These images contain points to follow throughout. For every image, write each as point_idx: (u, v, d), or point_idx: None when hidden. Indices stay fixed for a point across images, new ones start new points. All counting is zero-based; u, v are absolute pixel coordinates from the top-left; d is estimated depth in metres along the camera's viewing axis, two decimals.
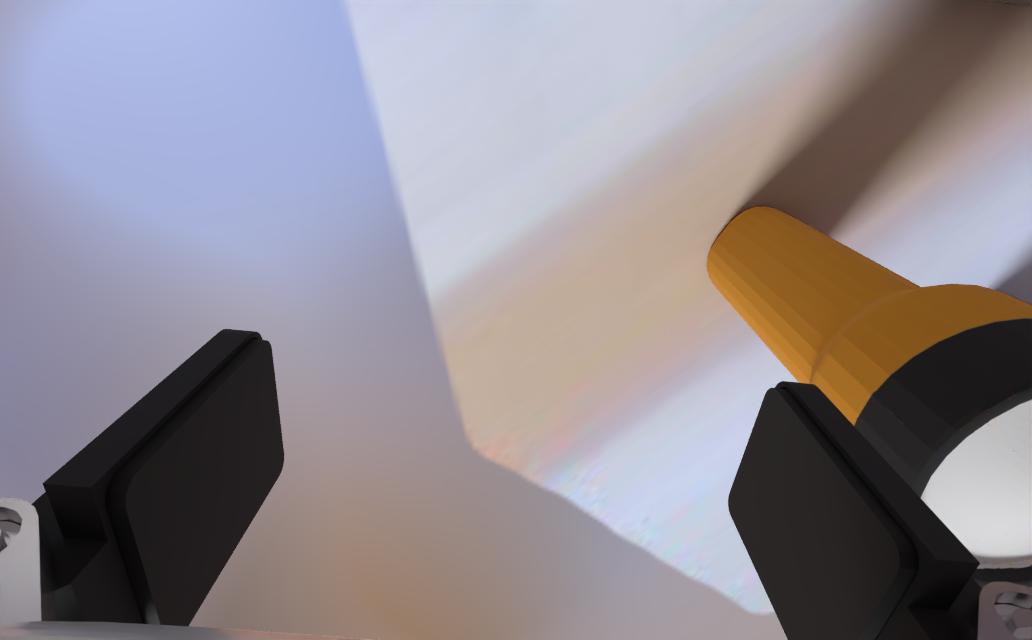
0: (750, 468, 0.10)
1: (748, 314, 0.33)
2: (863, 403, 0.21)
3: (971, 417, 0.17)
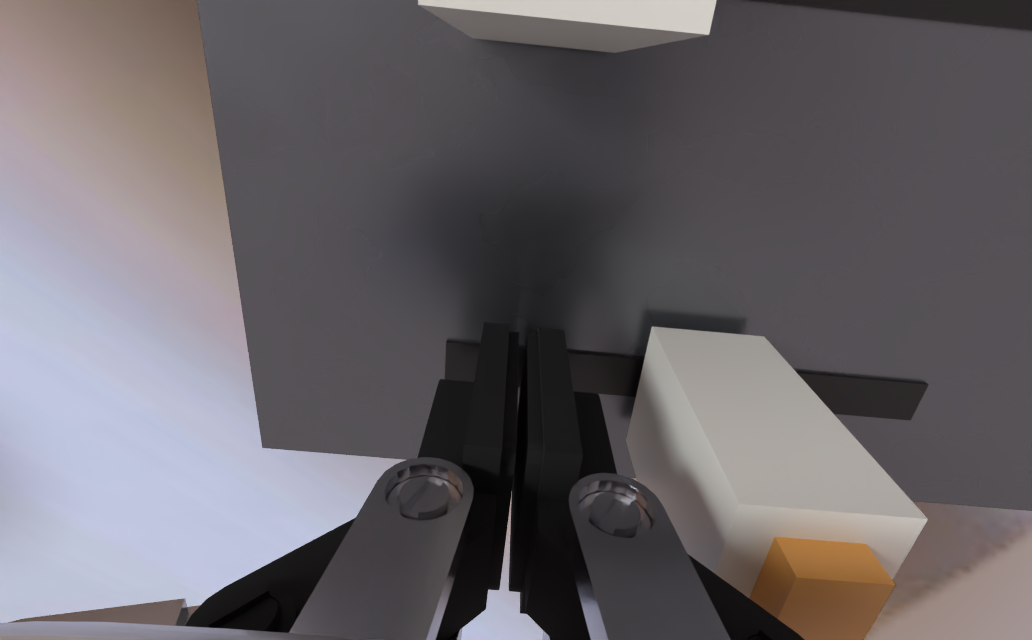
0: (518, 408, 0.11)
1: None
2: None
3: None
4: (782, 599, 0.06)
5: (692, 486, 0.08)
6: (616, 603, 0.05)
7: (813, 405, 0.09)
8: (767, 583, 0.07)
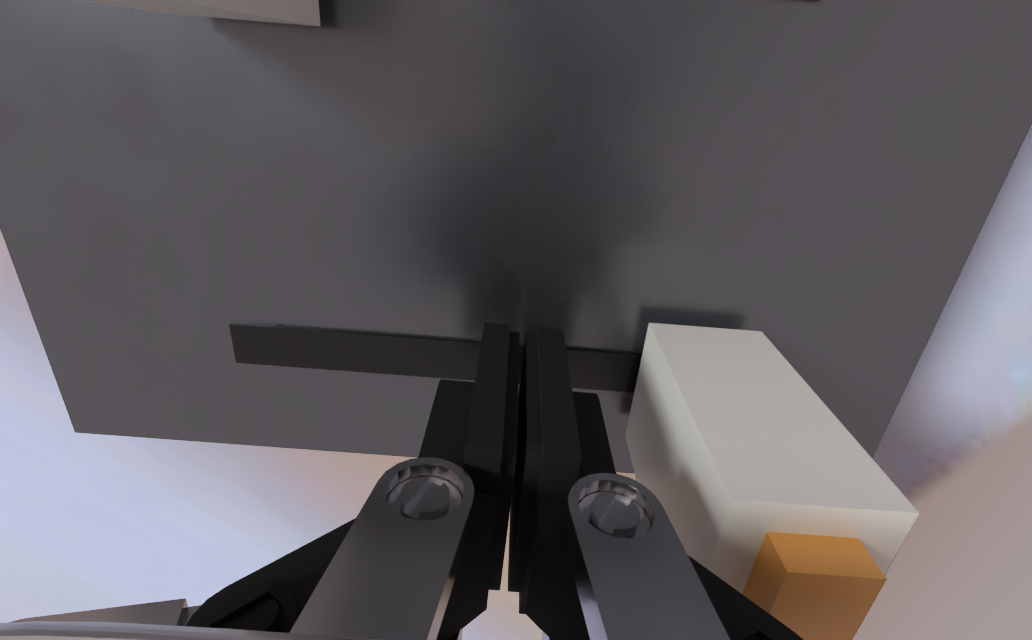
0: (517, 408, 0.11)
1: None
2: None
3: None
4: (774, 594, 0.07)
5: (686, 481, 0.08)
6: (615, 603, 0.05)
7: (808, 401, 0.09)
8: (759, 577, 0.07)
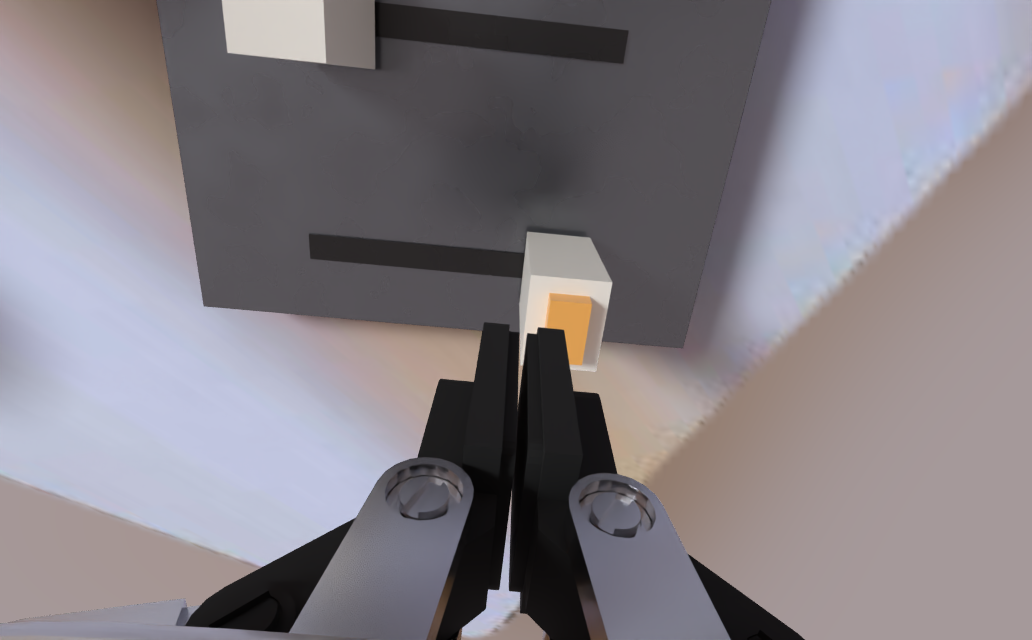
0: (518, 408, 0.11)
1: None
2: None
3: None
4: (548, 314, 0.15)
5: (526, 289, 0.17)
6: (616, 603, 0.05)
7: (592, 257, 0.18)
8: (546, 314, 0.16)
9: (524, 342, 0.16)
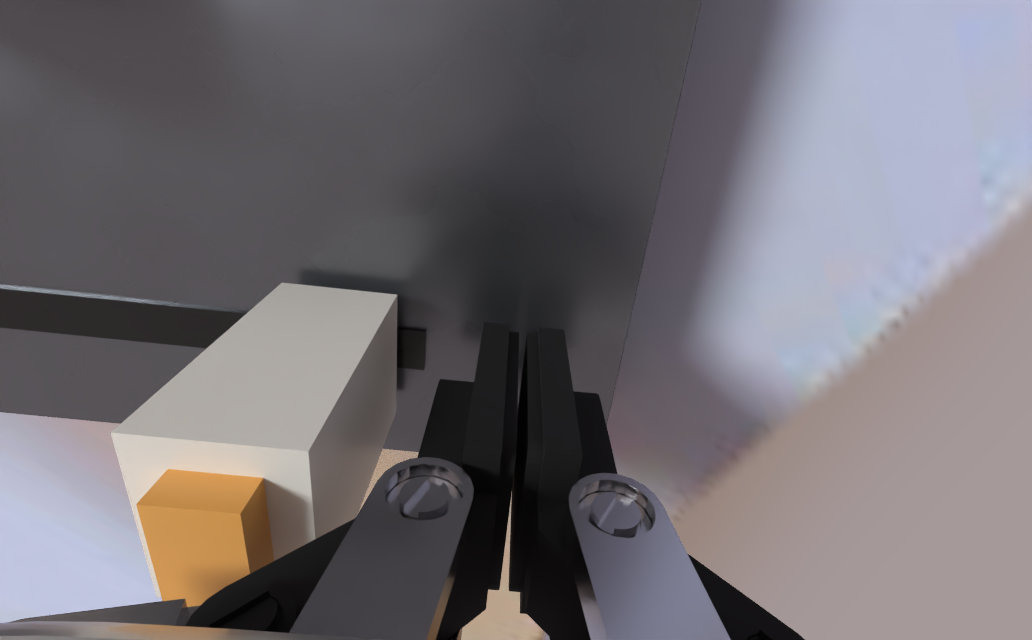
0: (518, 408, 0.11)
1: None
2: None
3: None
4: (146, 529, 0.06)
5: None
6: (616, 603, 0.05)
7: (347, 353, 0.09)
8: None
9: (148, 558, 0.07)
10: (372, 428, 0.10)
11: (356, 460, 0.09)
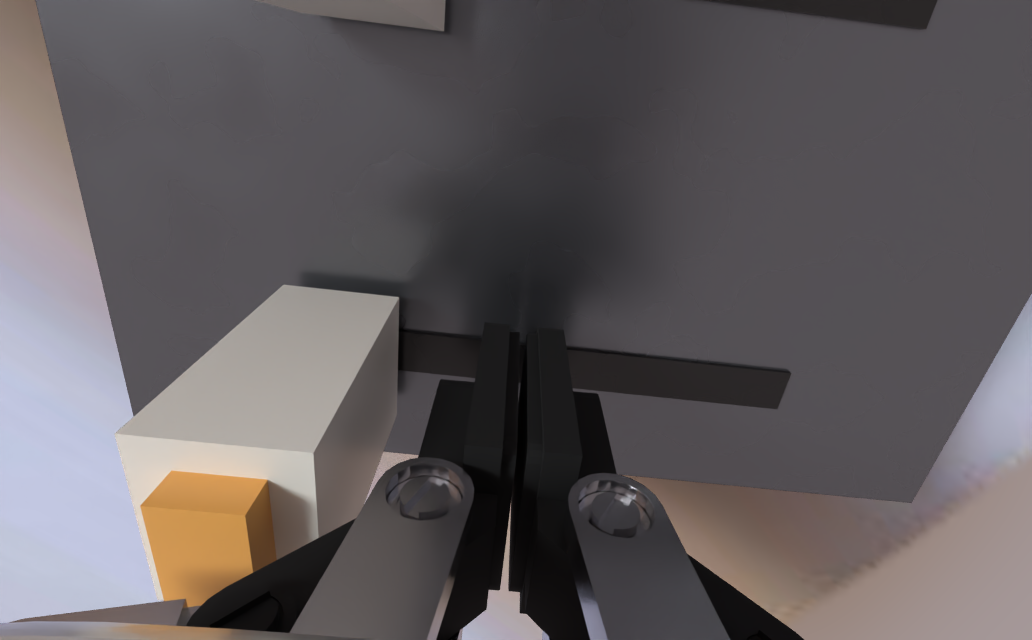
0: (518, 409, 0.11)
1: None
2: None
3: None
4: (150, 530, 0.06)
5: None
6: (615, 603, 0.05)
7: (351, 355, 0.09)
8: None
9: (150, 561, 0.07)
10: (374, 431, 0.10)
11: (358, 462, 0.09)
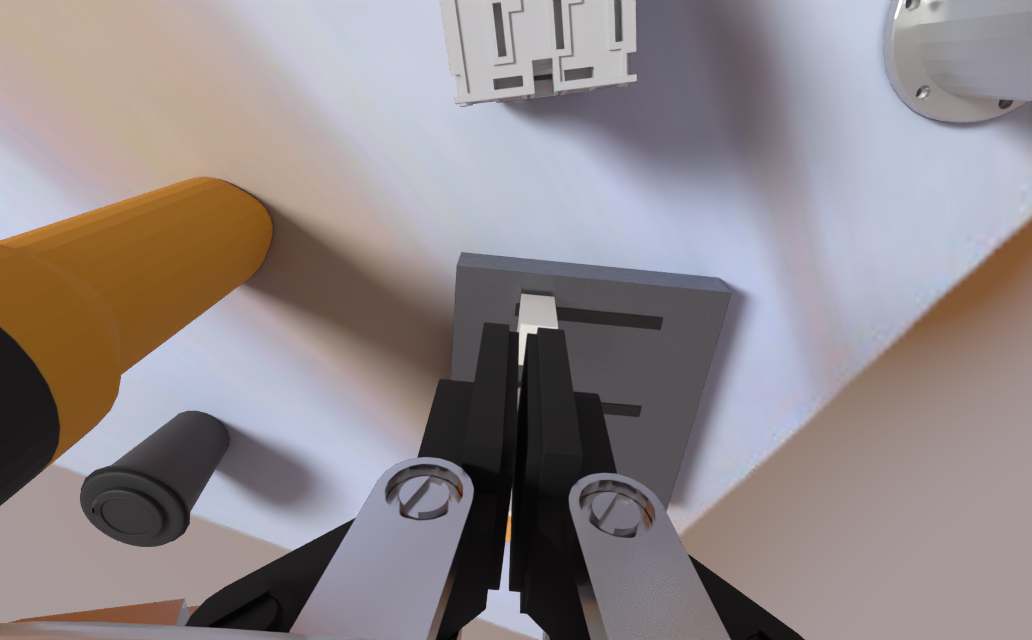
0: (518, 408, 0.11)
1: (109, 205, 0.30)
2: None
3: None
4: None
5: None
6: (616, 603, 0.05)
7: None
8: None
9: None
10: None
11: None
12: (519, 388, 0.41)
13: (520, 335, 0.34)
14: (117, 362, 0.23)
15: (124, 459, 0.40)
